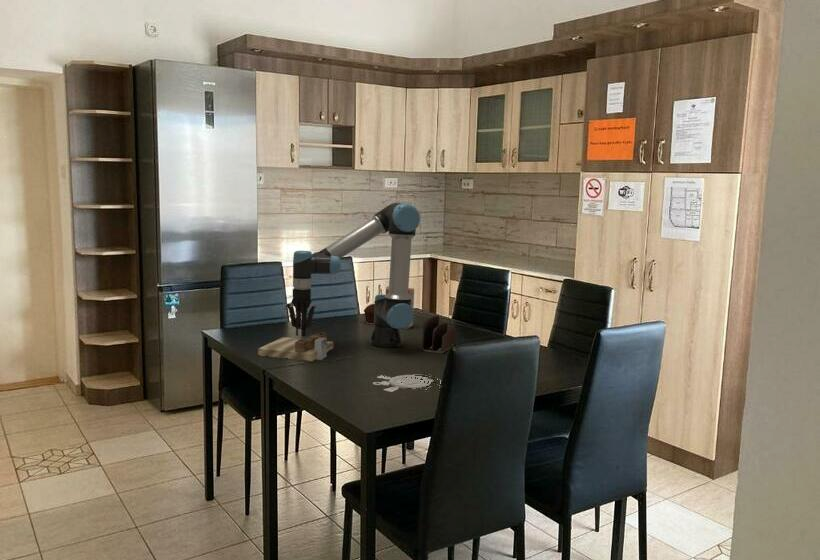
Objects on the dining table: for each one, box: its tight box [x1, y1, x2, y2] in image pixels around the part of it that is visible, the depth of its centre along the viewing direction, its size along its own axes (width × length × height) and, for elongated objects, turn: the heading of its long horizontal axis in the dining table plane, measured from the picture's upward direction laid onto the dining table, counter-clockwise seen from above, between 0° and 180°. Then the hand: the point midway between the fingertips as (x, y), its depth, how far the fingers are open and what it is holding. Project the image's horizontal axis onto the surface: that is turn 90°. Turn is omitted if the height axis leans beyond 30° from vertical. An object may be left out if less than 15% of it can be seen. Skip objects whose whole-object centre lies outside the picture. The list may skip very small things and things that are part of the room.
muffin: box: [363, 303, 375, 323], centre depth 355 cm, size 12×11×10 cm
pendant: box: [372, 373, 442, 393], centre depth 246 cm, size 21×28×1 cm
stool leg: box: [295, 331, 328, 352], centre depth 283 cm, size 21×4×5 cm, turn 159°
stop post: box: [314, 338, 328, 361], centre depth 276 cm, size 3×6×8 cm, turn 165°
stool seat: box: [257, 336, 334, 362], centre depth 286 cm, size 24×24×3 cm
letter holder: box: [421, 315, 457, 351], centre depth 302 cm, size 10×20×14 cm, turn 158°
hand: (300, 343), depth 280 cm, fingers closed
